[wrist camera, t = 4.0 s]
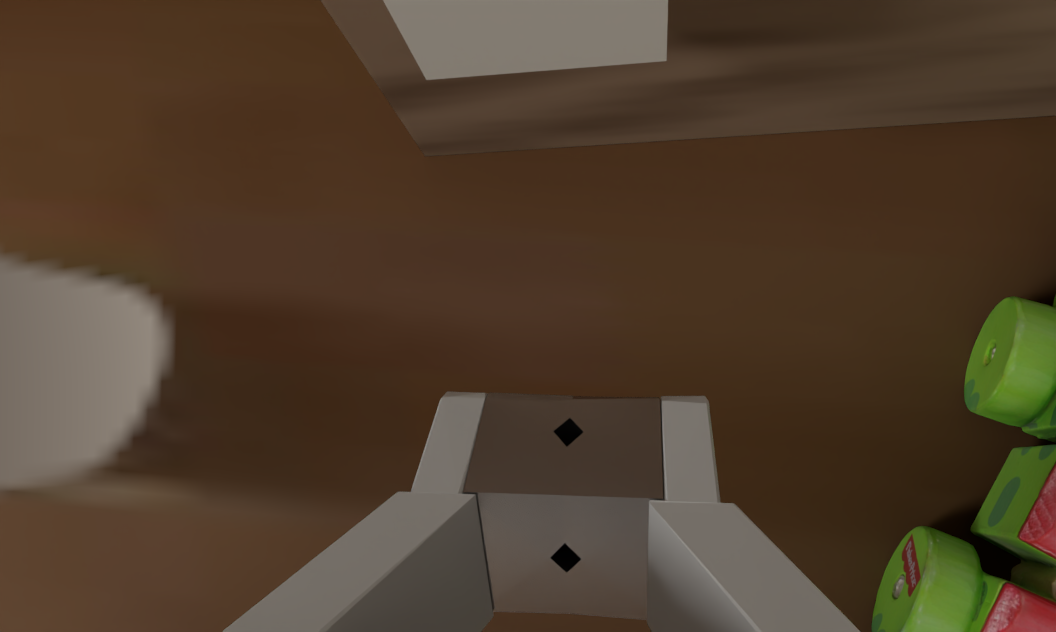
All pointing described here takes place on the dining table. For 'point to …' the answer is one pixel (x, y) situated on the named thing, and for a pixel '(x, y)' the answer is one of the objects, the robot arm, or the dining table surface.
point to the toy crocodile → (992, 498)
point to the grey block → (529, 34)
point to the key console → (737, 75)
